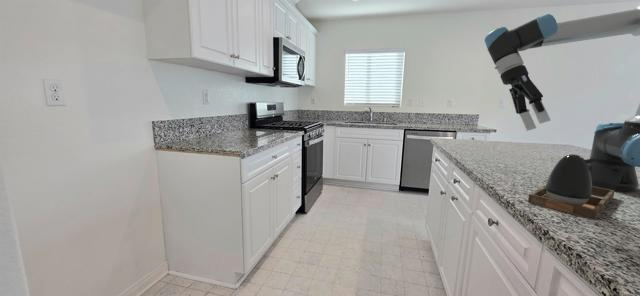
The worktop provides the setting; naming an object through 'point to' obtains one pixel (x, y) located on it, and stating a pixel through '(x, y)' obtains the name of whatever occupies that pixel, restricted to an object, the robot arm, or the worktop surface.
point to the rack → (587, 210)
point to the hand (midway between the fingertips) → (538, 126)
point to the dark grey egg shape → (570, 180)
